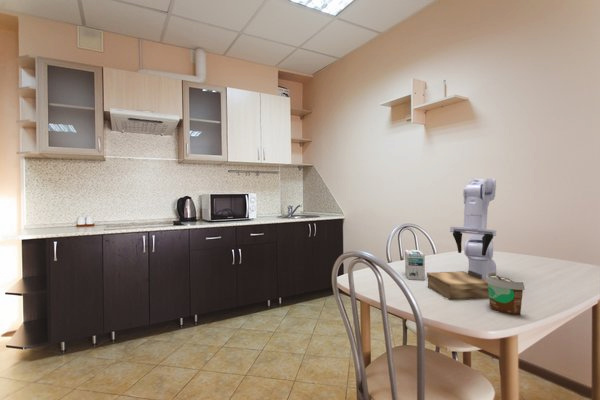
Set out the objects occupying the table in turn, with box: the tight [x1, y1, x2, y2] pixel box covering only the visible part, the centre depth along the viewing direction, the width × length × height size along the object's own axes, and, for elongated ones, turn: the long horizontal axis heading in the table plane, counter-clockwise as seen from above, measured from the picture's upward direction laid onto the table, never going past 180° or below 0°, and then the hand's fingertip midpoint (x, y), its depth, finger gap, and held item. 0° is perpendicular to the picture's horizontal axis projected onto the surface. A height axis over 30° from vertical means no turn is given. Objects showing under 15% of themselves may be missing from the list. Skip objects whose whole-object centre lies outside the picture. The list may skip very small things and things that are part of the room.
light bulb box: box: [404, 249, 426, 281], centre depth 133 cm, size 11×7×11 cm, turn 168°
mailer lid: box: [426, 270, 488, 290], centre depth 111 cm, size 15×15×3 cm
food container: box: [485, 271, 526, 316], centre depth 95 cm, size 12×6×10 cm, turn 5°
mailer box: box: [427, 275, 489, 301], centre depth 112 cm, size 15×14×4 cm
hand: (471, 254), depth 110 cm, fingers open, 7 cm apart
